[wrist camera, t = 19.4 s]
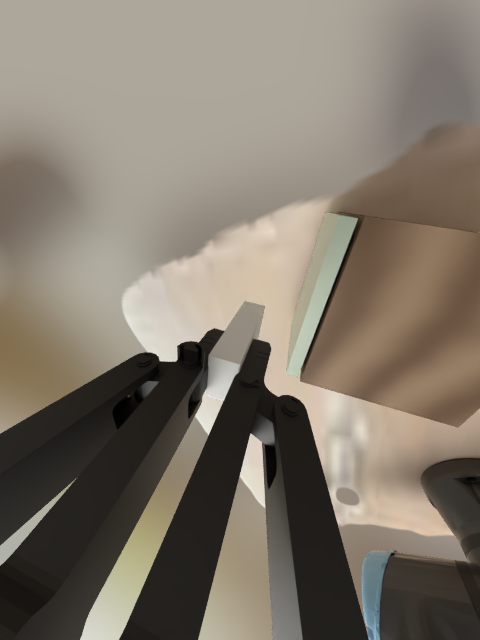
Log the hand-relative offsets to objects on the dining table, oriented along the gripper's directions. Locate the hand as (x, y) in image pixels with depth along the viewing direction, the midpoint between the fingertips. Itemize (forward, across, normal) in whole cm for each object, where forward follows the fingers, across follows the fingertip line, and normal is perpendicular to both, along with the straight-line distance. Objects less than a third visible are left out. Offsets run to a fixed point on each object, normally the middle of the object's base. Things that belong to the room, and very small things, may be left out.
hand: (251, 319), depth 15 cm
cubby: (+16, -12, 0) cm, 20 cm away
